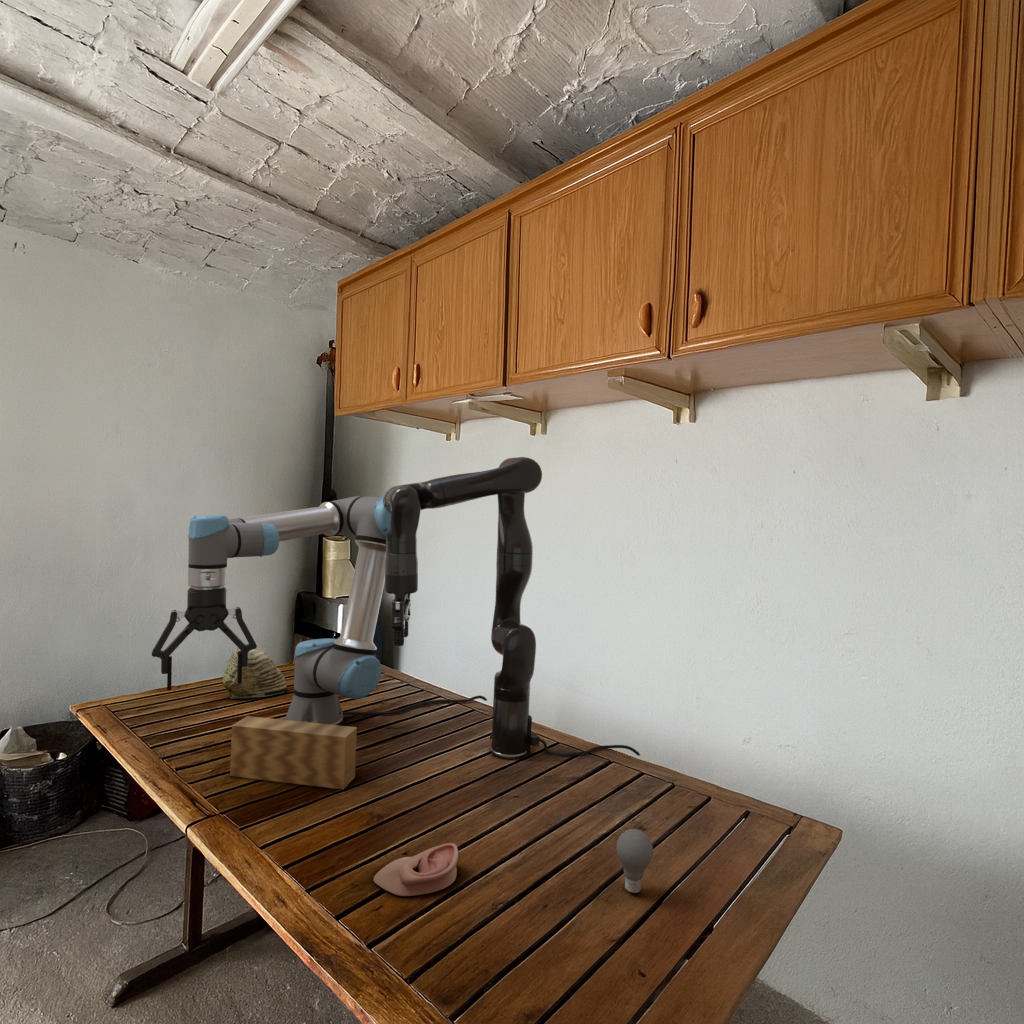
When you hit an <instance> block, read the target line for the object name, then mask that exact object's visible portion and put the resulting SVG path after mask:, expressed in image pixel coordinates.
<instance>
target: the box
mask: <svg viewBox="0 0 1024 1024" xmlns="http://www.w3.org/2000/svg"><path fill="white" fill-rule="evenodd" d="M357 731H358V727H357V726H350V725H349V726H348V725H329V724H320V723H310V722H300V721H290V720H286V719H279V718H270V717H261V716H252V715H251V716H250V715H247V716H245V717H243V718H242V719H240V720H239V721H237V722H235V723H234V724H232V725H231V736H230V738H231V740H230V741H231V742H230V767H229V768H230V769H229V777H236V778H244V779H250V780H251V779H252V780H261V781H268V782H276V783H277V782H278V783H285V784H294V785H301V786H302V785H303V786H310V787H318V788H319V787H320V788H327V789H335V790H345V789H346V787H348V786H349V784H350V783H351V782H352V781H353V780H354V779H355V777H356V758H357V737H358V736H357V735H358V734H357V733H358V732H357Z"/></svg>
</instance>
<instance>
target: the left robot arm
mask: <svg viewBox="0 0 1024 1024" xmlns="http://www.w3.org/2000/svg"><path fill="white" fill-rule="evenodd" d="M383 497H384V496H366V495H356V496H350V497H346V498H345V497H344V498H340V499H337V500H336V499H335V500H330V501H324V502H322V503H321V504H320V505H319V506H315V507H308V508H300V509H293V510H286V511H279V512H271V513H264V514H257V515H251V516H242V517H238V518H237V517H236V518H228V517H227V516H226V515H221V514H196V515H193V516H192V517H191V518H189V519H190V520H189V525H188V535H187V539H188V560H187V561H188V562H187V563H188V565H187V586H189V588H188V589H187V594H186V595H187V601H186V604H187V605H186V610H185V611H179V610H176V609H172V610H171V611H170V615H169V621H168V622H167V624H166V626H165V627H164V629H163V630H162V632H161V635H160V636H159V638H158V640H157V642H156V644H155V645H154V647H153V649H152V651H151V656H152V657H153V658H158V659H160V661H161V663H160V664H161V665H160V672H161V674H162V675H167V676H166V691H167V692H168V691H172V680H173V679H172V676H173V675H172V673H173V671H172V670H173V656H172V654H173V652H174V651H175V650H176V649H178V647H179V646H180V645H181V644H182V643H183V642H184V641H185V640H186V639H187V637H189V635H190V634H191V633H193V632H194V631H197V632H204V631H205V632H206V631H210V632H211V631H213V632H214V631H215V630H218V629H219V630H220V631H221V632H222V633H224V635H225V636H226V637H227V638H228V639H229V640H230V641H231V642H232V643H233V644H234V645H235V646H236V647H237V648H239V649H240V650H241V651H238V661H237V682H238V684H239V683H242V667H247V665H248V652H249V651H250V650H253V649H257V648H258V645H257V643H256V641H255V639H254V637H253V635H252V633H251V631H250V630H249V627H248V626H247V624H246V623H245V621H244V618H243V611H242V608H241V607H240V606H236V607H235V608H230V609H228V608H227V588H226V587H225V586H226V585H227V580H228V579H227V577H228V574H227V573H228V559H233V558H249V557H250V558H252V557H259V558H262V557H265V556H272V555H274V554H275V553H276V552H277V550H278V549H279V547H280V542H285V541H290V540H297V539H301V538H307V537H313V536H319V535H324V536H327V537H334V536H351V537H354V543H355V544H356V546H357V547H358V552H357V556H356V560H355V566H354V570H353V575H352V580H351V585H350V591H349V595H348V599H347V603H346V608H345V612H344V618H343V623H342V627H341V631H340V632H341V633H340V636H339V637H338V638H331V637H329V638H317V639H316V638H315V639H308V640H304V641H300V642H299V643H298V644H297V645H296V646H295V650H294V651H295V652H294V655H293V658H294V672H293V673H294V674H293V695H292V696H293V697H292V699H291V702H290V704H289V706H288V711H287V713H286V715H285V720H290V721H300V722H310V723H320V724H329V725H339V726H341V725H342V723H343V722H344V716H382V715H383V716H385V715H395V714H399V713H403V712H406V711H408V710H410V709H413V708H417V707H421V706H425V705H429V704H436V703H437V704H439V703H468V702H471V701H474V700H477V699H480V700H483V701H484V702H485V701H488V699H487V698H486V697H485V696H484V695H476V696H472V697H469V698H464V699H444V698H443V699H433V700H427V701H422V702H418V703H414V704H411V705H408V706H405V707H403V708H400V709H395V710H389V711H388V710H386V711H343V709H342V706H341V702H340V699H339V696H340V697H342V698H345V699H351V700H360V699H364V698H366V697H368V696H369V695H370V694H371V693H372V692H374V690H375V689H376V688H377V686H378V684H379V682H380V680H381V677H382V671H383V670H382V669H383V668H382V665H381V662H380V660H379V659H378V658H377V650H378V647H377V646H376V644H375V642H374V636H375V633H376V627H377V622H378V619H379V618H378V617H379V612H380V607H381V602H382V597H383V594H384V593H383V592H384V589H385V559H386V553H387V552H386V535H387V531H388V529H389V528H390V526H391V513H389V512H388V511H387V510H386V509H385V507H384V505H383ZM228 616H231V619H235V620H236V622H237V624H238V626H239V628H240V630H241V632H242V634H243V635H244V637H245V639H246V641H247V643H246V644H245V642H243V641H242V639H241V638H240V637H239V636H238V635H237V634H236V633H235V632H234V631H233V630H232V629H231V628H230V627H229V626H228V624H226V622H224V621H225V620H226V619H227V618H228ZM182 618H184V619H185V620H186V621H187V622H188V623H187V624H186V626H185V627H184V628H183V629H182V630H181V631H180V632H179V634H178V635H177V636H176V637H175V638H174V639H173V640H172V641H171V642H170V643H169V644H168V646H166V647H165V649H164V650H163V647H164V645H165V644H166V641H167V640H168V638H169V636H170V635H171V633H172V631H173V629H174V628H175V626H176V623H179V622H180V621H181V620H182ZM467 699H468V700H467Z"/></svg>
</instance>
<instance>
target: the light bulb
mask: <svg viewBox="0 0 1024 1024" xmlns="http://www.w3.org/2000/svg"><path fill="white" fill-rule="evenodd" d="M615 849H616V854H617V857H618V859H619V861H620V863H621V865H622V867H623V873H624V874H623V875H624V876H625V878H624V888H625V890H627V891H628V892H630V893H634V894H635V893H639V892H640V891H641V889H642V887H641V886H642V879H643V877H644V875H645V871H646V868H647V867H648V866H649V864H650V863H651V861H652V859H653V855H654V847H653V843H652V841H651V838H649V836H648V835H647V834H646V833H645V832H643V831H642V830H641V829H636V828H629V829H627V830H625V831H623V832H622V833H621V834H620V835H619V837H618V839H617V841H616V847H615Z"/></svg>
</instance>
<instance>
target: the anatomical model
mask: <svg viewBox="0 0 1024 1024" xmlns="http://www.w3.org/2000/svg"><path fill="white" fill-rule="evenodd" d="M458 861H459V848H458V846H457V845H456V844H455V843H452V842H448V843H443V844H439V845H437V846H433V847H430V848H428V849H425V850H423V851H422V852H420V853H417V854H415V855H412V856H404V857H399V858H397V859H395V860H393V861H390V862H389V863H388V864H386V865H385V866H383V867H382V868H381V869H380V870H379V871H377V872H376V874H375V875H374V876H373V882H374V883H375V885H377V886H378V887H379V888H381V889H383V890H384V891H386V892H388V893H390V894H393V895H395V896H399V897H411V896H419V895H420V896H422V895H426V894H431V893H435V892H439V891H441V890H444V889H446V888H448V887H449V886H451V885H452V884H453V883H454V882H455V881H456V879H457V874H458V869H457V864H458Z"/></svg>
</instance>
